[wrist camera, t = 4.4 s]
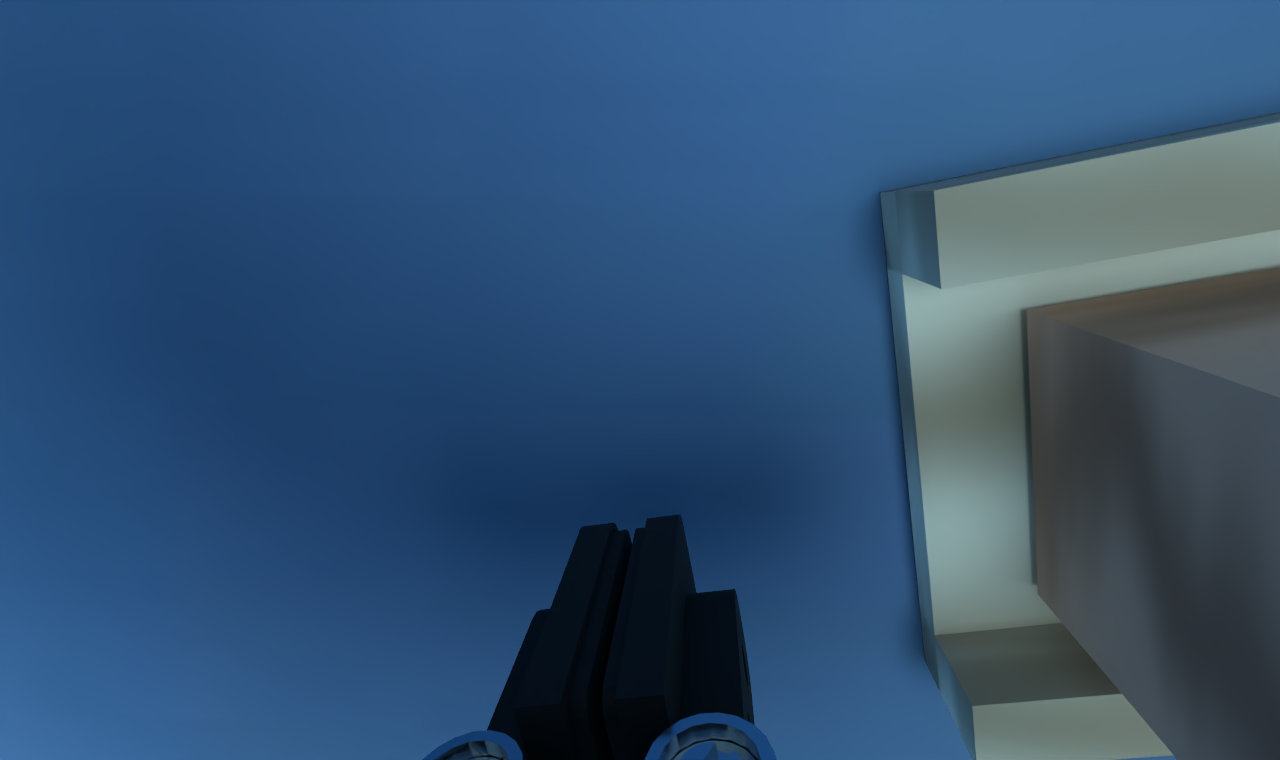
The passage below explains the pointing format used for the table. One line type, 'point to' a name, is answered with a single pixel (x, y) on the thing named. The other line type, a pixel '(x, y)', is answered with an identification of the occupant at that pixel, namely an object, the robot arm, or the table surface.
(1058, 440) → the block
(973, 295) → the chute
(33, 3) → the table surface
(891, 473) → the table surface
